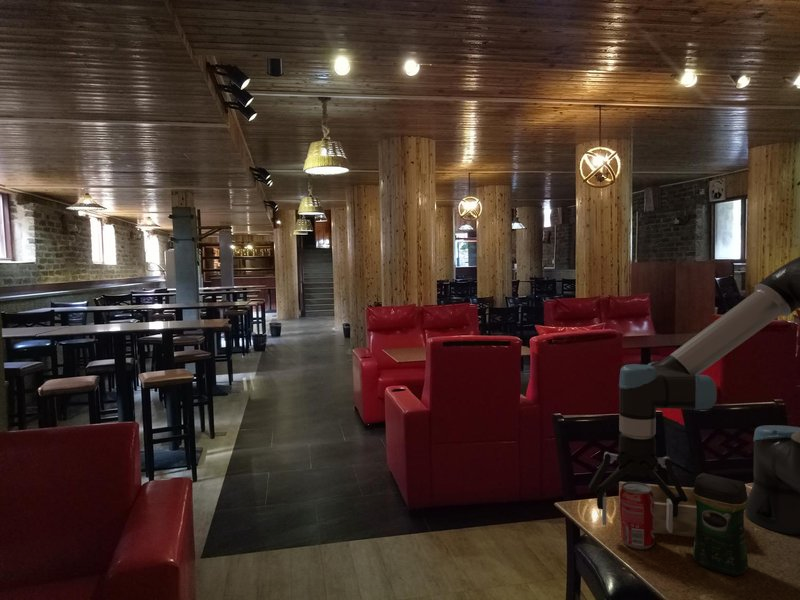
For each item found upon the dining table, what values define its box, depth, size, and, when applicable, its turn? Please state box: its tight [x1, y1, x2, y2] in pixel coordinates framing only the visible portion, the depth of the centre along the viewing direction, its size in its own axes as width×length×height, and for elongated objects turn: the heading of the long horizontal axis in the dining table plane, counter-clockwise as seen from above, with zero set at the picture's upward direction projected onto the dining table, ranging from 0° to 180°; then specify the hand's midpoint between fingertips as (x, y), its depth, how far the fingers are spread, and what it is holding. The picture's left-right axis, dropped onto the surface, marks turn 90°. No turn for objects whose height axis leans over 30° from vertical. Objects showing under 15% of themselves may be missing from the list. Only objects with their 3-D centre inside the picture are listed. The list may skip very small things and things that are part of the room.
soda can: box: [619, 481, 656, 550], centre depth 120 cm, size 7×7×13 cm
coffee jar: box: [692, 472, 749, 576], centre depth 111 cm, size 10×8×19 cm
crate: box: [618, 481, 697, 538], centre depth 129 cm, size 22×12×7 cm, turn 73°
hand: (636, 526), depth 120 cm, fingers open, 13 cm apart
